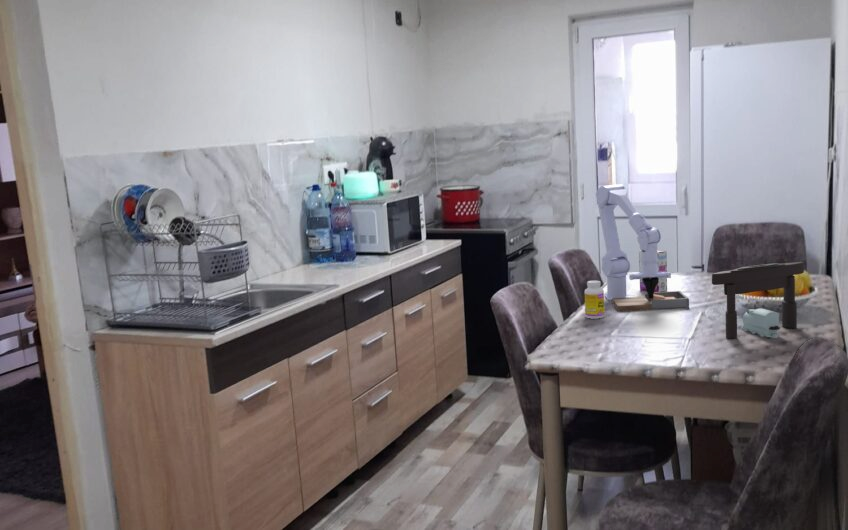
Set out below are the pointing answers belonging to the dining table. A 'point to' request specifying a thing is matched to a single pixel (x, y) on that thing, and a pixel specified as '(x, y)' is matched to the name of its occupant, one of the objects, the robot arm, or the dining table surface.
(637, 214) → the robot arm
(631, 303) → the board
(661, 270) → the candy bar box
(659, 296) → the tile
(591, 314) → the supplement bottle
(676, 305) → the tray
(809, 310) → the dining table surface
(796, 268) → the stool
